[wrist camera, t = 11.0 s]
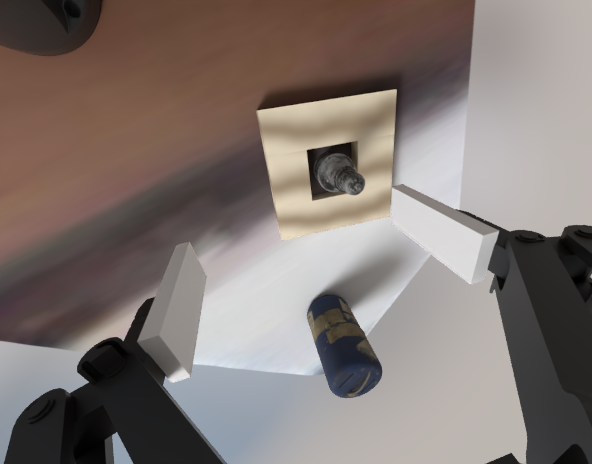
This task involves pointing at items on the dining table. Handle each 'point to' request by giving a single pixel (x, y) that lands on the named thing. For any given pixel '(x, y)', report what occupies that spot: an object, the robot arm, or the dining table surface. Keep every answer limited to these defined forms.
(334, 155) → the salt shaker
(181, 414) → the robot arm
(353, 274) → the dining table surface
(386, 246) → the dining table surface
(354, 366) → the canister
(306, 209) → the socket
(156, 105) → the dining table surface
